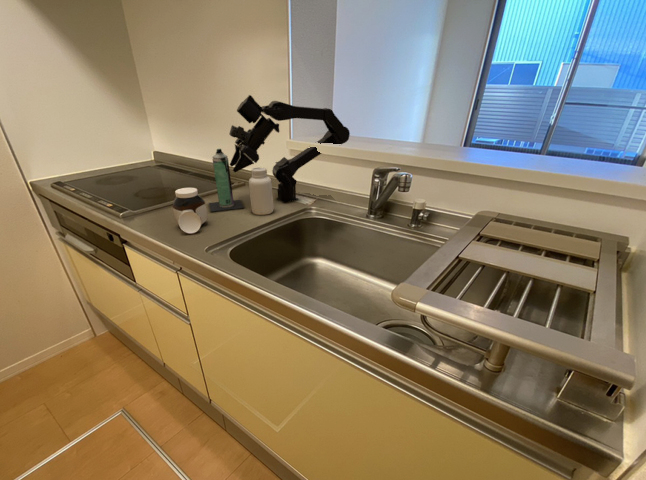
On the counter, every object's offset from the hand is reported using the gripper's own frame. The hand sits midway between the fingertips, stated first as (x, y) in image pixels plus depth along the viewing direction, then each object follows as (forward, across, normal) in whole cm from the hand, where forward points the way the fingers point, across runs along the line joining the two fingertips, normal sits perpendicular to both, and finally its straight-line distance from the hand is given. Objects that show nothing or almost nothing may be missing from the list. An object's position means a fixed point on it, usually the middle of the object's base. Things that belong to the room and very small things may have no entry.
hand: (232, 168), depth 124 cm
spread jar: (+22, +18, -2) cm, 28 cm away
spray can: (+12, 0, +7) cm, 14 cm away
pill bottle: (+4, +11, +15) cm, 19 cm away
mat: (+12, 0, +7) cm, 14 cm away
